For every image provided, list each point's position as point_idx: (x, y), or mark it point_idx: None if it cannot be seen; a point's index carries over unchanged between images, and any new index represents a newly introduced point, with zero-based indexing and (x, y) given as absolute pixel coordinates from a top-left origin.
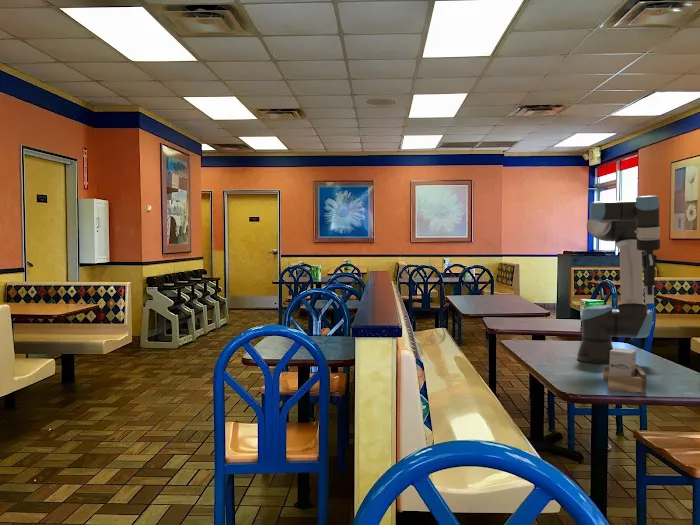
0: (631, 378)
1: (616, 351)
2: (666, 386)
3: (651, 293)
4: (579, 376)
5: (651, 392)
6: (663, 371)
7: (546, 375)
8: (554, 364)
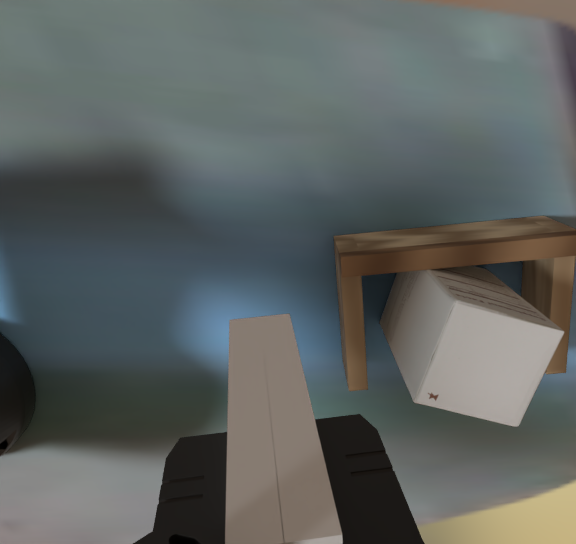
0: (570, 287)
1: (530, 398)
2: (385, 121)
3: (378, 444)
4: None
5: (520, 193)
6: (46, 104)
7: None
8: (140, 522)
